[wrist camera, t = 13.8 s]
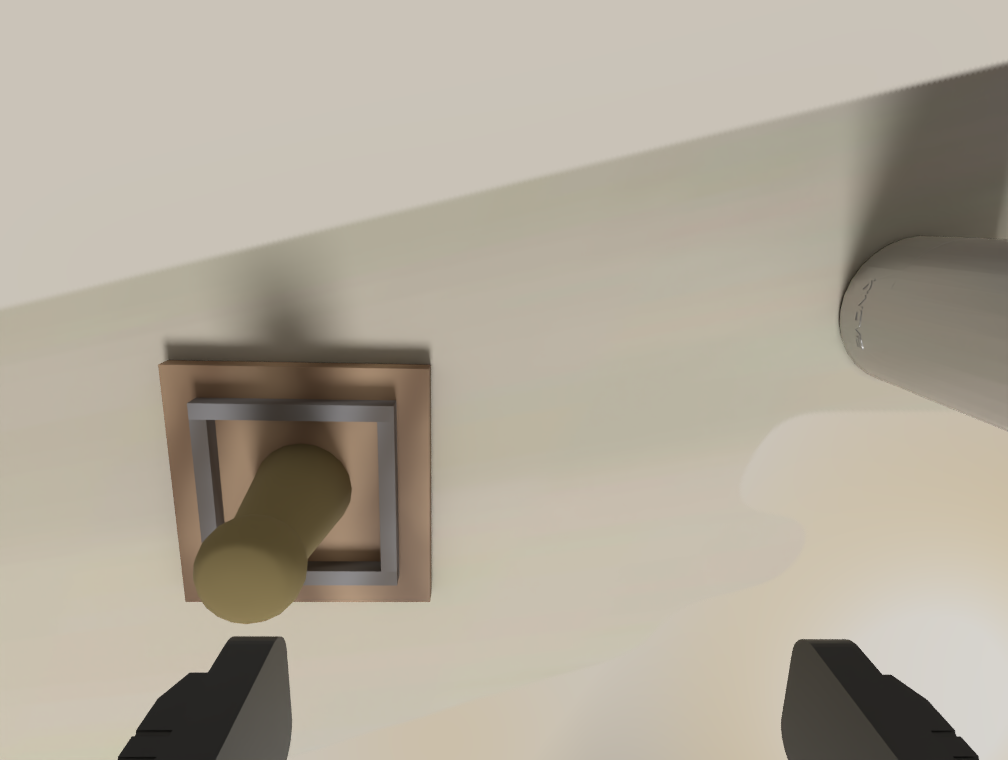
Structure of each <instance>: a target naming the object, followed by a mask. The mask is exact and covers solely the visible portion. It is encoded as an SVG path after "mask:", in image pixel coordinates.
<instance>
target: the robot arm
mask: <svg viewBox="0 0 1008 760" xmlns="http://www.w3.org/2000/svg"><path fill="white" fill-rule="evenodd" d="M840 330H841V336H842V341H843V343H844V346H845V348H846V351H847V353H848V354H849V356H850V357H851V359H852V360H853V361H854V363H855V364H856V365H857V366H858V367H860V368H861V369H862V370H863V371H864V372H866V373H867V374H869V375H872V376H874V377H876V378H878V379H880V380H882V381H885V382H887V383H890V384H892V385H895V386H897V387H900V388H902V389H905V390H907V391H910V392H912V393H914V394H916V395H919V396H921V397H924V398H926V399H929V400H931V401H934V402H936V403H939V404H941V405H943V406H946V407H948V408H951V409H953V410H956V411H958V412H961V413H963V414H966V415H968V416H971V417H973V418H976V419H978V420H981V421H983V422H986V423H988V424H991V425H993V426H995V427H998V428H1000V429H1003V430H1005V431H1008V239H988V238H969V237H939V236H916V237H911V238H905V239H902V240H900V241H897V242H895V243H892V244H890V245H888V246H886V247H885V248H883V249H881V250H880V251H878V252H877V253H875V254H874V255H873V256H872V257H871V258H870V259H869V260H868V261H866V262H865V263H864V264H863V265H862V266H861V268H860V269H859V270H858V272H857V273H856V275H855V276H854V277H853V279H852V280H851V282H850V284H849V286H848V288H847V291H846V293H845V295H844V299H843V303H842V306H841V311H840ZM291 731H292V713H291V700H290V687H289V674H288V662H287V649H286V643H285V640H284V638H283V637H231V638H230V639H229V640H228V641H227V643H226V644H225V646H224V647H223V649H222V651H221V652H220V654H219V656H218V657H217V659H216V660H215V662H214V664H213V665H212V667H211V669H210V670H209V672H208V673H189V674H188V675H186V676H185V677H184V678H183V679H181V680H180V681H179V682H178V683H177V684H175V685H174V686H173V687H172V688H170V689H169V690H168V691H167V692H166V693H164V694H163V695H162V696H161V697H159V698H158V699H157V701H156V702H155V704H154V705H153V707H152V708H151V709H150V711H149V712H148V714H147V715H146V717H145V718H144V720H143V721H142V723H141V724H140V726H139V727H138V729H137V730H136V735H135V736H132V737H131V739H130V740H129V742H128V743H127V745H126V746H125V748H124V749H123V750H122V752H121V753H120V755H119V756H118V760H287V756H288V751H289V746H290V740H291ZM781 731H782V738H783V744H784V748H785V752H786V755H787V758H788V760H979V758H978V755H977V754H976V753H975V752H974V751H973V750H972V749H971V748H970V747H969V745H968V744H967V743H966V742H965V741H964V740H963V739H962V738H961V737H957V736H956V734H955V730H954V729H953V728H952V727H951V726H950V724H949V723H948V722H947V721H946V720H945V719H944V718H943V717H942V716H941V715H940V713H939V712H937V710H936V709H935V708H934V707H933V706H932V705H931V704H930V702H929V701H928V700H926V699H925V698H924V697H922V696H921V695H919V694H918V693H916V692H915V691H913V690H912V689H911V688H909V687H908V686H906V685H905V684H904V683H902V682H901V681H899V680H898V679H896V678H895V677H894V676H892V675H882V674H881V673H880V671H879V670H878V669H877V668H876V667H875V666H874V664H873V663H872V662H871V661H870V660H869V659H868V658H867V656H866V655H865V654H864V653H863V652H862V651H861V649H860V648H859V647H858V646H857V645H856V644H855V643H853V642H852V641H850V640H846V639H842V640H840V639H839V640H838V639H819V640H818V639H801V640H798V641H797V642H796V643H795V645H794V647H793V651H792V657H791V663H790V669H789V675H788V681H787V688H786V694H785V700H784V706H783V712H782V719H781Z"/></svg>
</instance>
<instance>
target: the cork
mask: <svg viewBox="0 0 1008 760" xmlns="http://www.w3.org/2000/svg"><path fill="white" fill-rule="evenodd" d="M351 492H352V487H351V482H350V478H349V474H348V472H347V471H346V469H345V467H344V466H343V464H342V463H341V462H340V461H339V460H338V459H337V458H336V457H335V456H334V455H333V454H331V453H330V452H328V451H326V450H324V449H322V448H320V447H318V446H315V445H308V444H301V443H300V444H293V445H286V446H283V447H281V448H279V449H277V450H275V451H273V452H272V453H271V454H270V455H269V456H268V457H267V458H266V459H265V460H264V461H263V462H262V463H261V465H260V467H259V469H258V471H257V473H256V475H255V477H254V479H253V481H252V483H251V485H250V487H249V489H248V491H247V493H246V495H245V497H244V499H243V501H242V503H241V505H240V507H239V509H238V511H237V513H236V515H235V517H234V519H232V520H230V521H228V522H225V523H223V524H222V525H220V526H218V527H217V528H216V529H215V530H214V531H213V532H212V533H211V534H210V535H209V536H208V537H207V538H206V539H205V540H204V541H203V543H202V544H201V547H200V549H199V551H198V553H197V555H196V558H195V561H194V565H193V581H194V584H195V587H196V591H197V594H198V597H199V598H200V600H201V601H202V602H203V604H204V605H205V607H206V608H207V609H209V610H210V611H211V612H213V613H214V614H215V615H216V616H218V617H220V618H222V619H225V620H227V621H230V622H234V623H242V624H250V623H257V622H262V621H266V620H268V619H271V618H273V617H275V616H277V615H279V614H281V613H282V612H283V611H284V610H285V609H286V608H287V607H288V606H289V605H290V604H291V603H292V602H293V601H294V600H295V599H296V598H297V596H298V594H299V592H300V590H301V588H302V586H303V584H304V582H305V580H306V574H307V564H308V558H309V557H310V555H311V554H312V553H313V552H314V550H315V549H316V548H317V547H318V546H319V544H320V543H321V542H322V541H323V539H324V538H325V537H326V536H327V535H328V533H329V532H330V531H331V530H332V528H333V527H334V526H335V525H336V523H337V522H338V521H339V520H340V519H341V517H342V516H343V515H344V513H345V511H346V509H347V507H348V506H349V504H350V500H351Z"/></svg>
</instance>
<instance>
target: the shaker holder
mask: <svg viewBox="0 0 1008 760" xmlns="http://www.w3.org/2000/svg"><path fill="white" fill-rule="evenodd" d="M158 367H159V376H160V384H161V393H162V402H163V410H164V419H165V428H166V436H167V445H168V454H169V462H170V471H171V480H172V488H173V497H174V506H175V514H176V523H177V532H178V540H179V549H180V557H181V566H182V575H183V583H184V592H185V601H186V602H202V601H201V600H200V598H199V597H198V594H197V591H196V587H195V584H194V581H193V565H194V561H195V558H196V555H197V553H198V551H199V549H200V547H201V544H202V543H203V541H204V540H205V539H206V538H207V537H208V536H209V535H210V534H211V533H212V532H213V531H214V530H215V529H216V528H217V527H218V526H220V525H222V524H223V523H225V522H228V521H230V520H232V519H234V517H235V515H236V513H237V511H238V509H239V507H240V505H241V503H242V501H243V499H244V497H245V495H246V493H247V491H248V489H249V487H250V485H251V483H252V481H253V479H254V477H255V475H256V473H257V471H258V469H259V467H260V465H261V463H262V462H263V461H264V460H265V459H266V458H267V457H268V456H269V455H270V454H271V453H272V452H273V451H275V450H277V449H279V448H281V447H283V446H286V445H293V444H300V443H301V444H308V445H315V446H318V447H320V448H322V449H324V450H326V451H328V452H330V453H331V454H333V455H334V456H335V457H336V458H337V459H338V460H339V461H340V462H341V463H342V464H343V466H344V467H345V469H346V471H347V472H348V474H349V478H350V482H351V487H352V492H351V500H350V504H349V506H348V507H347V509H346V511H345V513H344V515H343V516H342V517H341V519H340V520H339V521H338V522H337V523H336V525H335V526H334V527H333V528H332V530H331V531H330V532H329V533H328V535H327V536H326V537H325V538H324V539H323V541H322V542H321V543H320V544H319V546H318V547H317V548H316V549H315V550H314V552H313V553H312V554H311V555H310V557H309V558H308V564H307V574H306V580H305V582H304V584H303V586H302V588H301V590H300V592H299V594H298V596H297V598H296V599H295V600H294V601H293V602H430V598H431V365H421V364H362V363H304V362H245V361H186V360H167V361H165V362H163V363H161V364H159V365H158Z"/></svg>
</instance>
